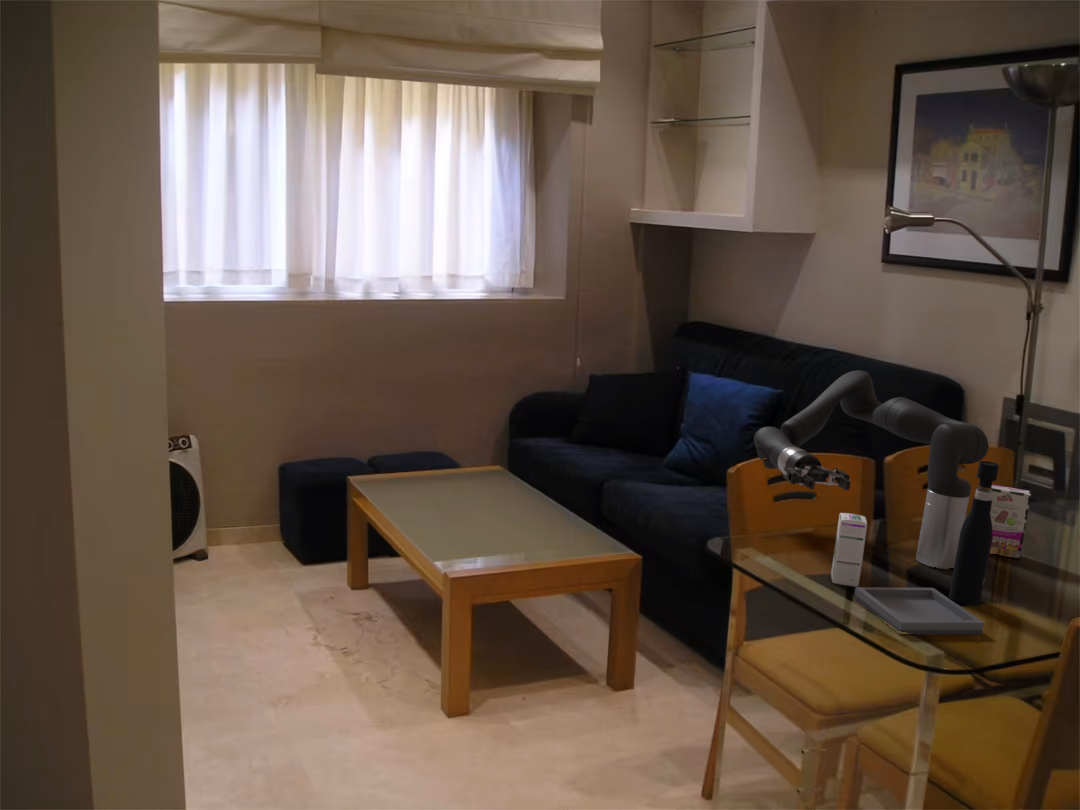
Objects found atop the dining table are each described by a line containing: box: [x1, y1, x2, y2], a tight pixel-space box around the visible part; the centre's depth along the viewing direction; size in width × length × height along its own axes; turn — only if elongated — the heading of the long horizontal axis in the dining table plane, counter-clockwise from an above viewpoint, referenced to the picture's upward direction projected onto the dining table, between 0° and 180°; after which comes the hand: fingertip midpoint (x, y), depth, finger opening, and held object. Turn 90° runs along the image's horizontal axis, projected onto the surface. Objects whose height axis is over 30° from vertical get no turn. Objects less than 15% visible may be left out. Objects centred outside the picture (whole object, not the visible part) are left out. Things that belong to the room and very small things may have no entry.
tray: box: [853, 586, 985, 636], centre depth 221 cm, size 18×18×2 cm
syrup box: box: [830, 512, 868, 588], centre depth 236 cm, size 6×6×14 cm
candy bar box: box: [990, 484, 1032, 552], centre depth 267 cm, size 11×5×16 cm, turn 68°
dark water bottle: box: [948, 460, 1000, 606], centre depth 231 cm, size 6×6×30 cm
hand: (830, 485), depth 245 cm, fingers open, 8 cm apart
